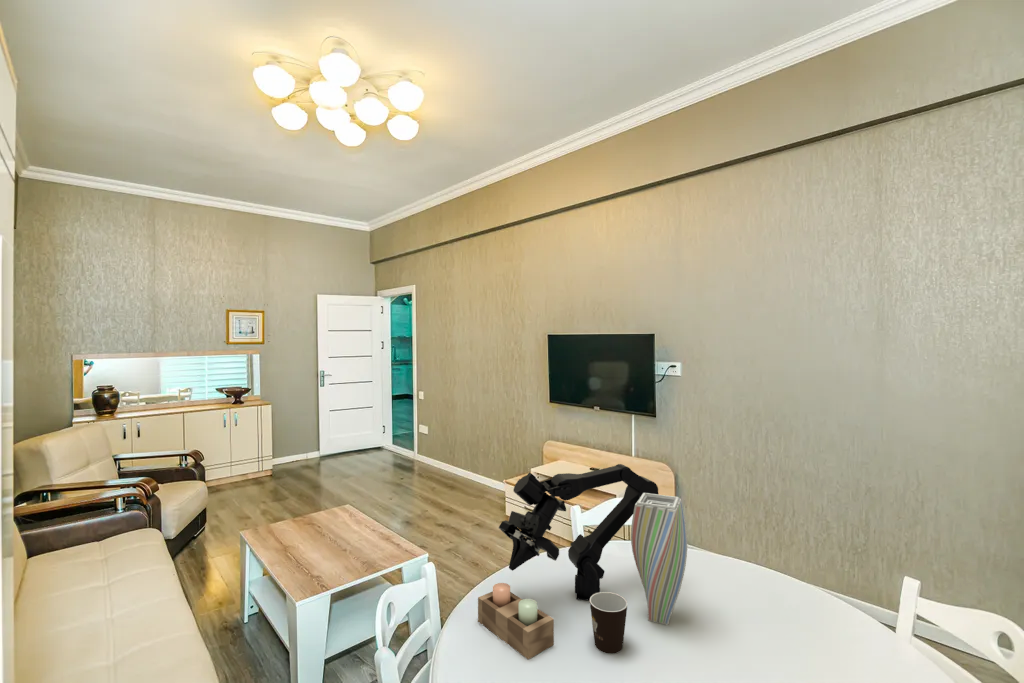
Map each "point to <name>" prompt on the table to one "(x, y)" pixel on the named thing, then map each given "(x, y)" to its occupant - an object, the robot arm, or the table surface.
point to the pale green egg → (527, 611)
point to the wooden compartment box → (516, 626)
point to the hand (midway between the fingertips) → (510, 569)
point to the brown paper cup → (608, 621)
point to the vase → (659, 551)
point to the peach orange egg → (501, 594)
